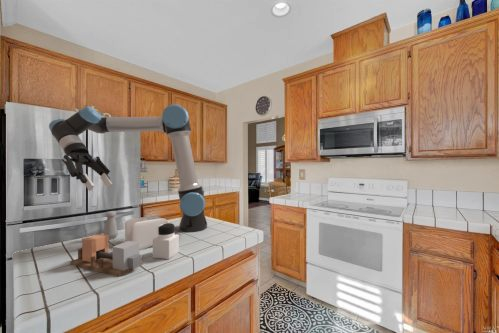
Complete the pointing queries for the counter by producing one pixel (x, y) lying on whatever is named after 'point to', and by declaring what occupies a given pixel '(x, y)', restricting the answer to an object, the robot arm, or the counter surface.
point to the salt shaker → (111, 225)
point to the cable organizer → (143, 230)
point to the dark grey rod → (104, 255)
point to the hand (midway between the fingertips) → (101, 187)
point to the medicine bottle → (165, 242)
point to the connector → (126, 255)
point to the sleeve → (94, 246)
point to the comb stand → (99, 265)
